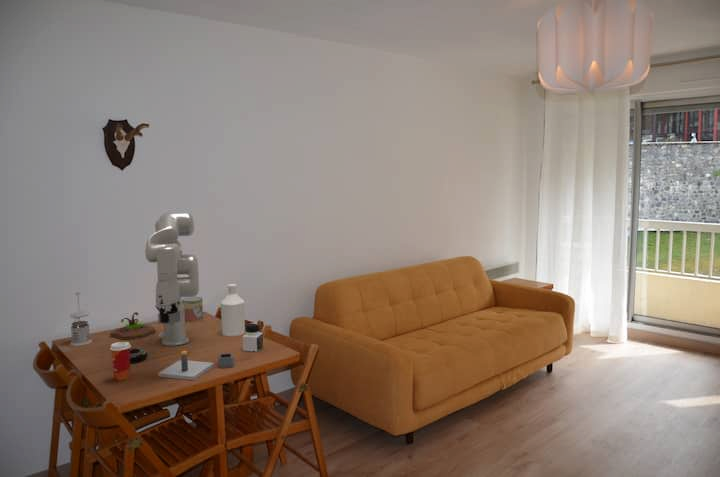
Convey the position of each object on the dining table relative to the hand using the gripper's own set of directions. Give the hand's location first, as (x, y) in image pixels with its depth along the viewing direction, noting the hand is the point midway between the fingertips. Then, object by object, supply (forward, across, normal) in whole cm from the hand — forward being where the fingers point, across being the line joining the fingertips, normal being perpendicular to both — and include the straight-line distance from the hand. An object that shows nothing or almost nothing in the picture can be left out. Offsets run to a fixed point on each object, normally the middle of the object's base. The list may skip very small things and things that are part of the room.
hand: (169, 320), depth 221 cm
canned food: (+21, -72, -38) cm, 85 cm away
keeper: (+22, -3, +5) cm, 23 cm away
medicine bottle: (+22, -36, +18) cm, 46 cm away
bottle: (+22, -56, -3) cm, 61 cm away
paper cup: (+22, +11, -15) cm, 29 cm away
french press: (+22, -23, -67) cm, 74 cm away
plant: (+22, -41, -52) cm, 70 cm away
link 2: (+22, -14, +17) cm, 31 cm away
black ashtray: (+22, -9, -26) cm, 35 cm away
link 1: (+1, 0, 0) cm, 1 cm away
